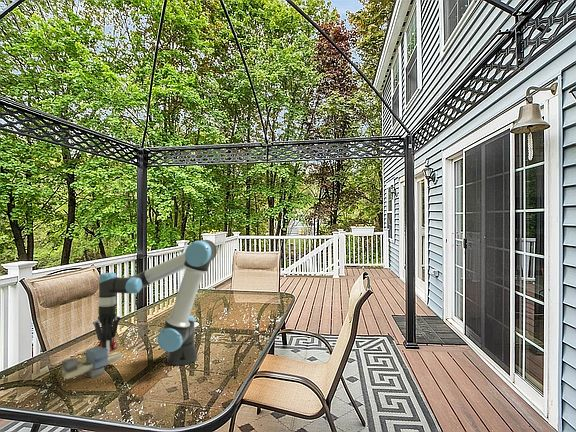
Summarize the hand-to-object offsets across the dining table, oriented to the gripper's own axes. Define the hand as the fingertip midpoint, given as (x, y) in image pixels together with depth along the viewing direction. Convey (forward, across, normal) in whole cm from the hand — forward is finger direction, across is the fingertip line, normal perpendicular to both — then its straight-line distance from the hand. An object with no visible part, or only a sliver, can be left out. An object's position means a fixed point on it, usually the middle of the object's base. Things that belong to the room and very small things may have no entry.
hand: (106, 353), depth 171 cm
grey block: (+4, +5, 0) cm, 6 cm away
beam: (+8, +6, 0) cm, 10 cm away
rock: (+8, +1, -15) cm, 17 cm away
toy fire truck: (+8, -15, -24) cm, 29 cm away
